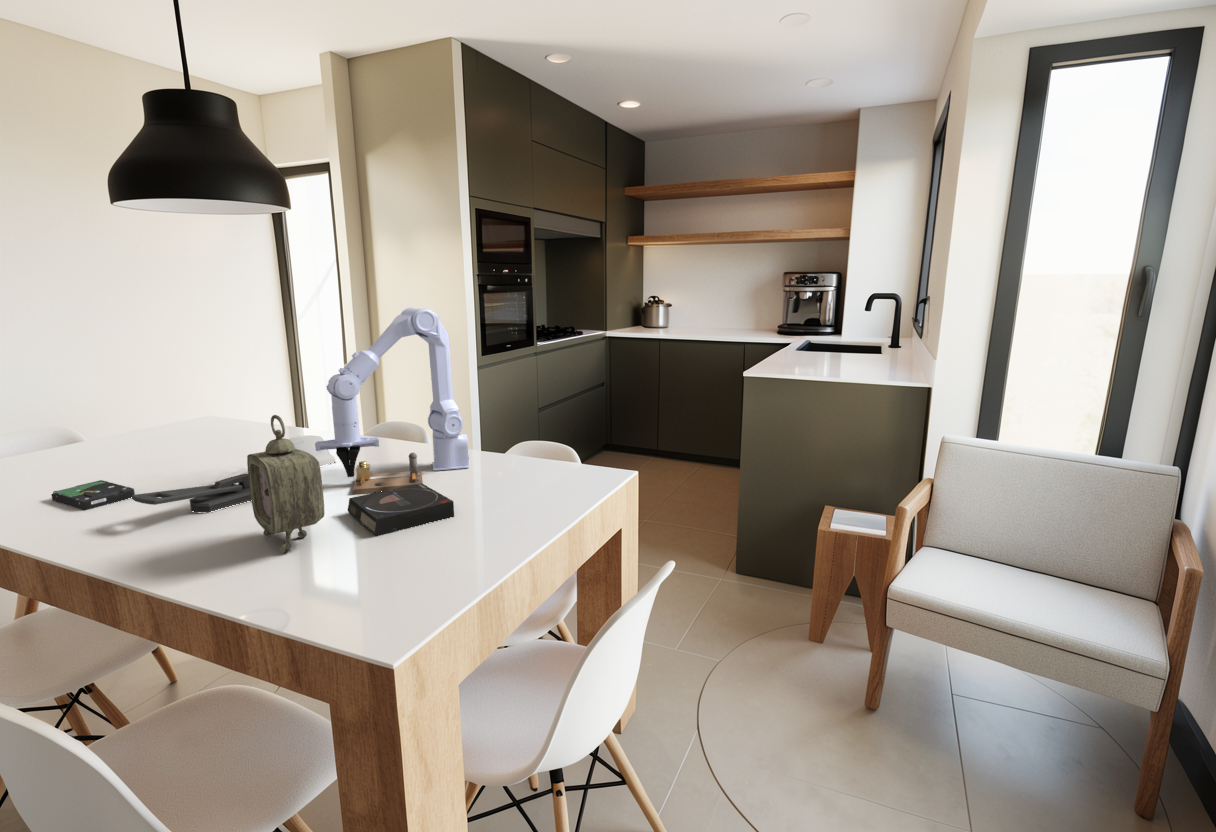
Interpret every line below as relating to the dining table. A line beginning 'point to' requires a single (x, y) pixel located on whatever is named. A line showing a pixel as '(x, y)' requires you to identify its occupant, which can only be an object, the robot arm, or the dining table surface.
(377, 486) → the plate
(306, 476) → the tabletop clock
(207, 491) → the dark grey long piece
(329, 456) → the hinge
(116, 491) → the disk drive
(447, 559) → the dining table surface
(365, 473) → the gold perfume bottle
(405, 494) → the portable cd player
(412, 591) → the dining table surface
